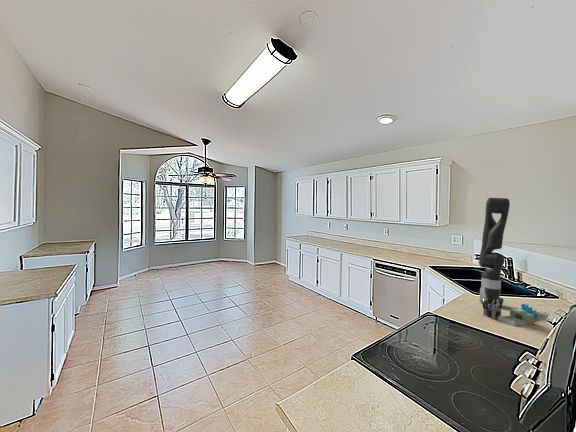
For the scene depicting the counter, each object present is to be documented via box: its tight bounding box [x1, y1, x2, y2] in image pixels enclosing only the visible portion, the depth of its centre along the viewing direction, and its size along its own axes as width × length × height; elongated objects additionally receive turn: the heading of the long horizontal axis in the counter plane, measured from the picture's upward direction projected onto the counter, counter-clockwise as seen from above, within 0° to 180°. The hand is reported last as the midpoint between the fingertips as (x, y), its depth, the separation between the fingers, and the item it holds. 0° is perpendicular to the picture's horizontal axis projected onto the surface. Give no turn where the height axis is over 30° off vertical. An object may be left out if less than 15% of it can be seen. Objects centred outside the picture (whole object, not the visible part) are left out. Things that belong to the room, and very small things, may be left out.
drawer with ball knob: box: [497, 308, 535, 327], centre depth 156 cm, size 10×13×6 cm
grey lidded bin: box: [482, 306, 502, 320], centre depth 164 cm, size 7×5×5 cm
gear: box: [520, 303, 540, 322], centre depth 163 cm, size 11×6×10 cm
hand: (492, 316), depth 164 cm, fingers closed on grey lidded bin, 4 cm apart
